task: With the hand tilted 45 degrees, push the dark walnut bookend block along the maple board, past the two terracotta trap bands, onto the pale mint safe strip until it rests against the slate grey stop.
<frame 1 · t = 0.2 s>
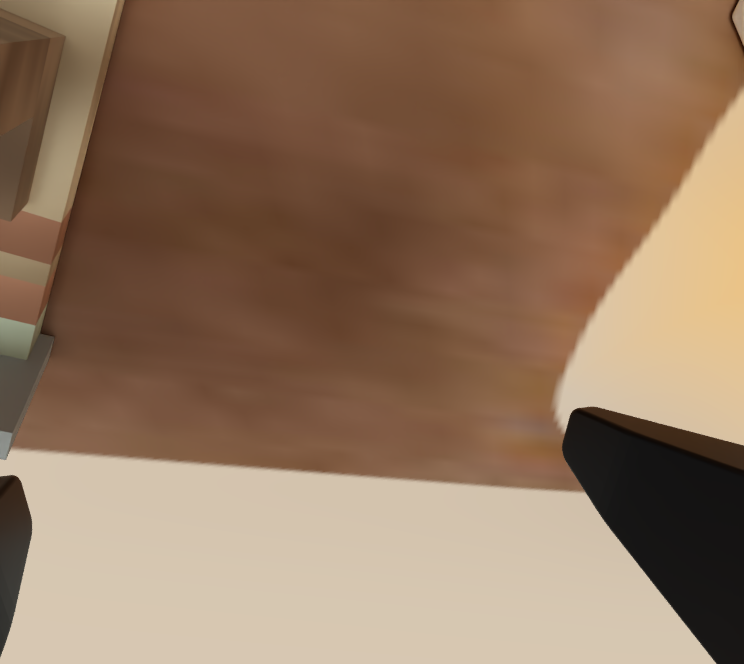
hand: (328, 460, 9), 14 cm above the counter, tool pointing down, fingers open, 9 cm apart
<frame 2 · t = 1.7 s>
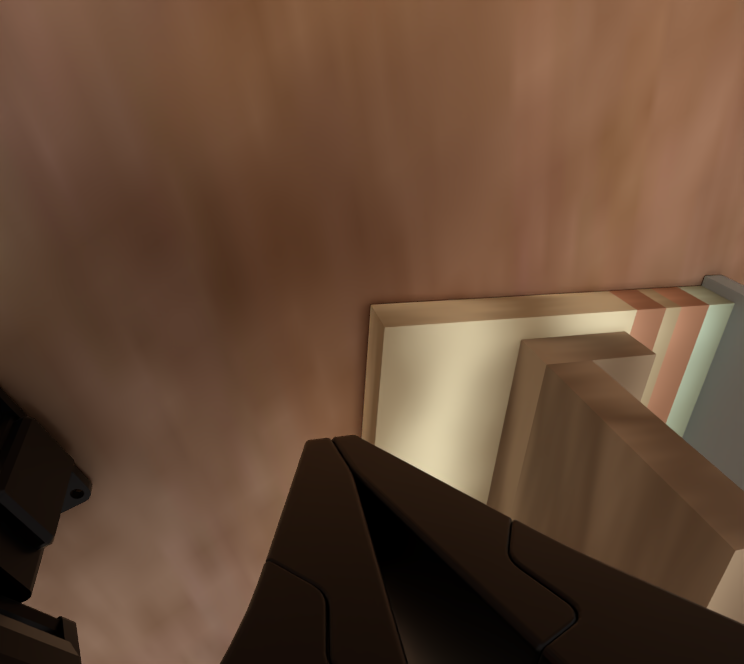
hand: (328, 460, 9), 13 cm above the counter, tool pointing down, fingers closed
bookend block: (549, 431, 27), point 2 cm above the counter, touching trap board
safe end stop: (671, 389, 30), on the counter
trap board: (524, 406, 28), on the counter
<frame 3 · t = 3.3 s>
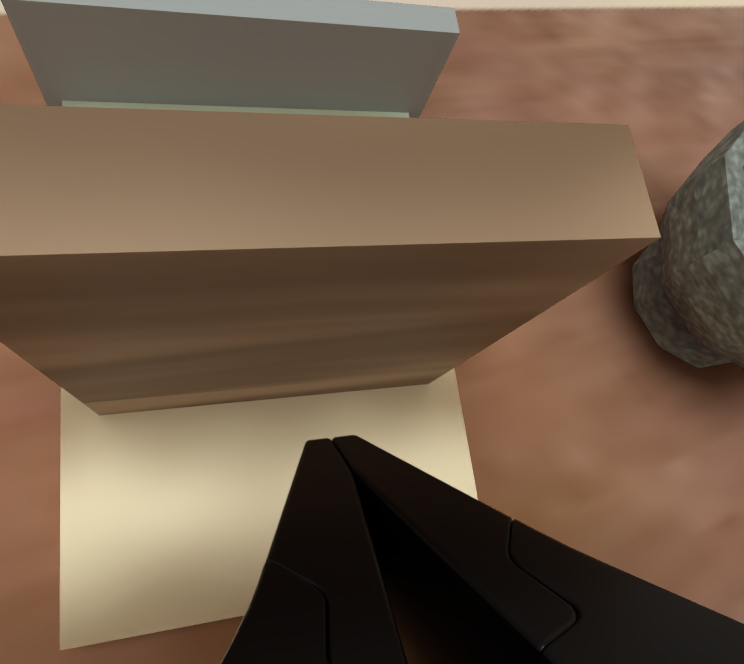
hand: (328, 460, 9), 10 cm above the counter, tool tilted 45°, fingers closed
bookend block: (268, 321, 18), point 2 cm above the counter, touching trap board
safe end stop: (245, 129, 22), on the counter
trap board: (265, 344, 20), on the counter
mortar and pestle: (702, 299, 26), on the counter
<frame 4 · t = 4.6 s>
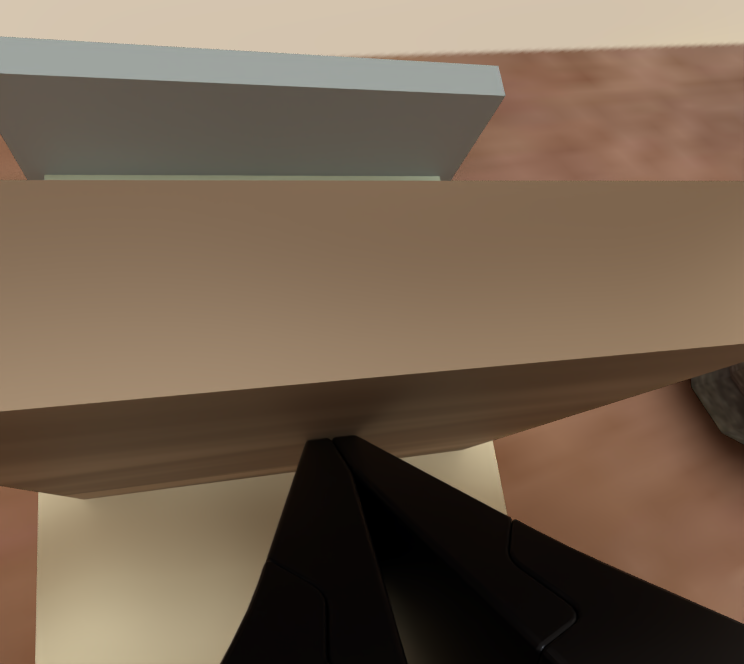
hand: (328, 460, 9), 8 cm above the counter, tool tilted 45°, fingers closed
bookend block: (279, 381, 16), point 2 cm above the counter
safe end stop: (255, 195, 20), on the counter
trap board: (279, 448, 17), on the counter
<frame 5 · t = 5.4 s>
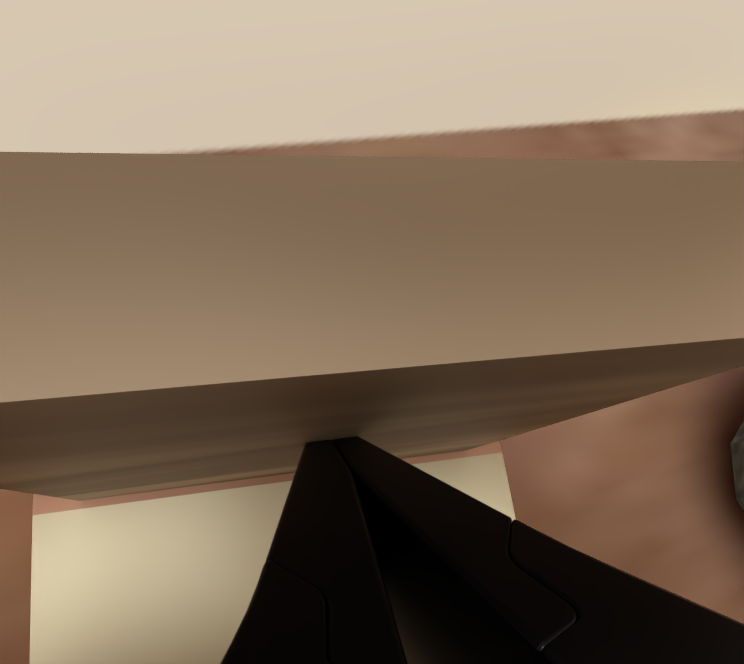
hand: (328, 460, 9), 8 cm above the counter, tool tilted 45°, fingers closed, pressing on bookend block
bookend block: (281, 379, 16), point 2 cm above the counter, touching gripper, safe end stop, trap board
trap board: (295, 596, 16), on the counter
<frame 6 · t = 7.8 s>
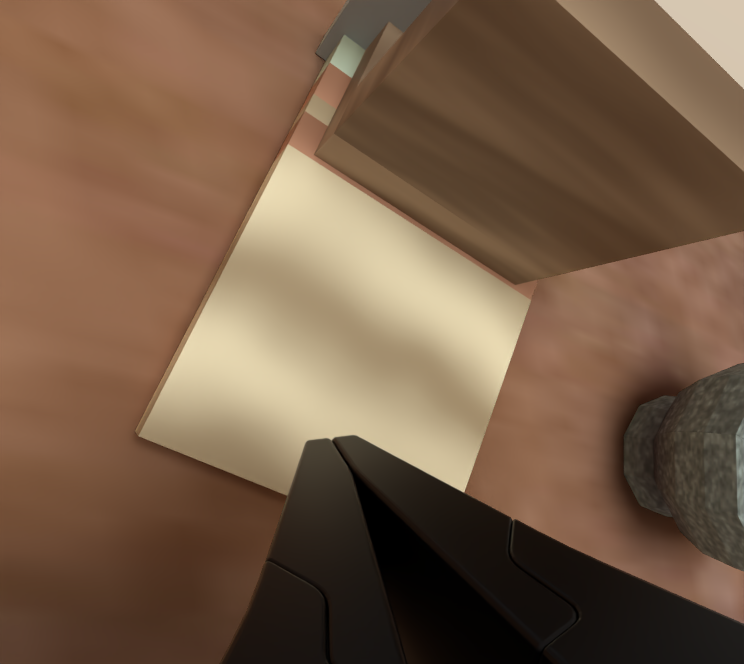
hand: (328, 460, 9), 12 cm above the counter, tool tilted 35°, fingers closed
bookend block: (443, 173, 24), point 2 cm above the counter, touching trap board
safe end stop: (443, 133, 26), on the counter
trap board: (370, 302, 24), on the counter
mortar and pestle: (669, 458, 31), on the counter
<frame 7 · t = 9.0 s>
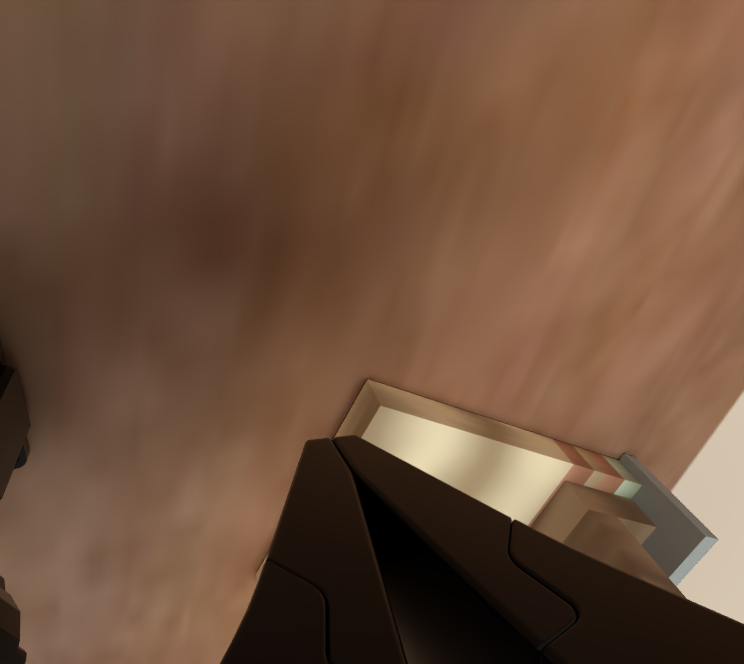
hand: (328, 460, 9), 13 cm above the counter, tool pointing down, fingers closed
bookend block: (545, 559, 31), point 2 cm above the counter, touching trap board
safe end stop: (563, 539, 34), on the counter
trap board: (447, 513, 30), on the counter
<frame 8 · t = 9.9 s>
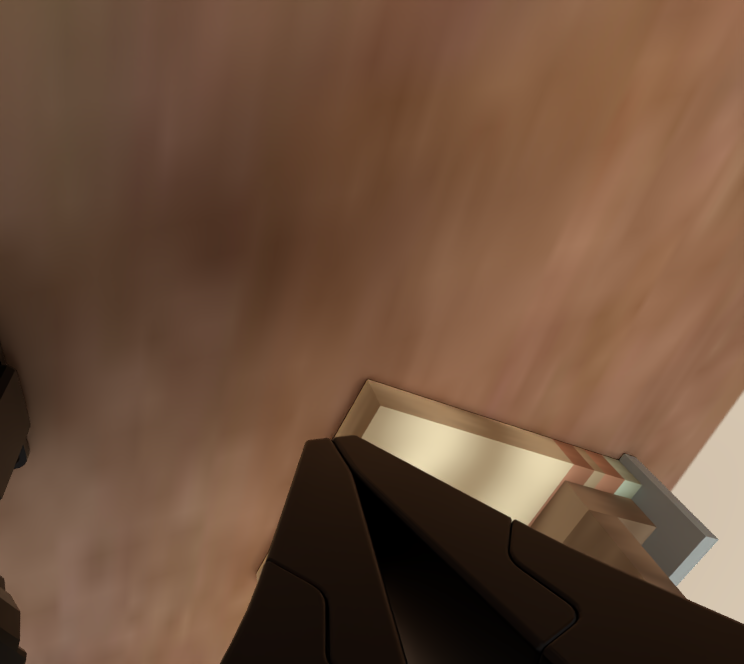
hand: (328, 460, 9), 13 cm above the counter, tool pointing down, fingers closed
bookend block: (545, 559, 31), point 2 cm above the counter, touching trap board
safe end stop: (563, 539, 34), on the counter
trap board: (447, 513, 30), on the counter
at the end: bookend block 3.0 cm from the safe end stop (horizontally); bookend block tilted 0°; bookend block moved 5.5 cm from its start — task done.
